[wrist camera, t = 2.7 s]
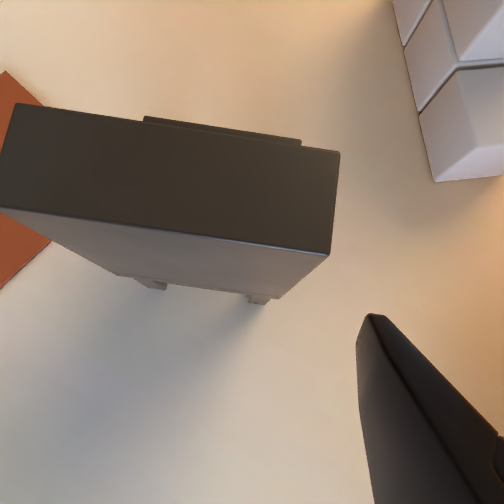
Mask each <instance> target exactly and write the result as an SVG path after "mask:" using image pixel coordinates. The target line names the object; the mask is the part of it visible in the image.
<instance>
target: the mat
mask: <svg viewBox="0 0 504 504" xmlns="http://www.w3.org/2000/svg"><path fill="white" fill-rule="evenodd" d="M17 102H19V103H26V104H32V105H39V106H43V105H42V104H41V103H40V102H39V101H38V100H37V99H35V98H34V97H33V96H32V95H31V94H30V93H29V92H28V91H27V90H26V89H25V88H24V87H23V86H21V85H20V84H19V83H18V82H17V81H16V80H15V79H14V78H13V77H12V76H11V75H10V74H8V73H7V72H6V71H4V72H3V73H2V74H1V75H0V152H1V149H2V145H3V142H4V139H5V135H6V132H7V129H8V125H9V122H10V119H11V115H12V112H13V109H14V105H15V103H17ZM51 241H52V240H51V239H49V238H47V237H45V236H43V235H41V234H39V233H38V232H36V231H34V230H32V229H30V228H28V227H26V226H25V225H23V224H21V223H19V222H17V221H15V220H13V219H12V218H10V217H8V216H6V215H4V214H2V213H0V288H1V287H2V286H3V285H4V284H5V283H7V282H8V281H9V280H10V279H11V278H12V277H13V276H14V275H15V274H16V273H17V272H18V271H20V270H21V269H22V268H23V267H24V266H25V265H26V264H27V263H28V262H29V261H30V260H31V259H32V258H34V257H35V256H36V255H37V254H38V253H39V252H40V251H41V250H42V249H43V248H44V247H45V246H47V245H48V244H49V243H50V242H51Z"/></svg>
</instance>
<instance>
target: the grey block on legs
mask: <svg viewBox="0 0 504 504" xmlns="http://www.w3.org/2000/svg"><path fill="white" fill-rule="evenodd" d="M301 143H302V141H301V140H300V139H293V138H287V137H280V136H274V135H267V134H261V133H254V132H248V131H241V130H235V129H228V128H222V127H215V126H209V125H202V124H196V123H189V122H183V121H176V120H170V119H163V118H157V117H150V116H144V118H143V121H137V120H130V119H124V118H117V117H111V116H104V115H98V114H91V113H85V112H78V111H72V110H65V109H58V108H52V107H45V106H39V105H32V104H26V103H19V102H17V103H15V105H14V109H13V112H12V115H11V119H10V122H9V125H8V129H7V132H6V135H5V139H4V142H3V145H2V149H1V152H0V213H2V214H4V215H6V216H8V217H10V218H12V219H13V220H15V221H17V222H19V223H21V224H23V225H25V226H26V227H28V228H30V229H32V230H34V231H36V232H38V233H39V234H41V235H43V236H45V237H47V238H49V239H51V240H52V241H54V242H56V243H58V244H60V245H62V246H63V247H65V248H67V249H69V250H71V251H73V252H75V253H76V254H78V255H80V256H82V257H84V258H86V259H88V260H89V261H91V262H93V263H95V264H97V265H99V266H101V267H102V268H104V269H106V270H108V271H110V272H112V273H114V274H115V275H117V276H123V277H130V278H133V279H135V280H137V281H138V282H140V283H142V284H143V285H145V286H147V287H148V288H154V289H161V290H166V287H167V283H171V284H177V285H184V286H191V287H198V288H204V289H211V290H218V291H225V292H231V293H238V294H245V295H248V302H249V303H256V304H263V305H265V304H266V303H267V302H268V301H269V300H270V299H271V298H272V299H279V298H281V297H282V296H283V295H284V294H285V293H287V292H288V291H289V290H290V289H291V288H292V287H294V286H295V285H296V284H297V283H298V282H299V281H301V280H302V279H303V278H304V277H305V276H306V275H308V274H309V273H310V272H311V271H312V270H313V269H314V268H316V267H317V266H318V265H319V264H320V263H321V262H323V261H324V260H325V259H326V258H327V257H328V256H329V255H330V252H331V242H332V232H333V223H334V213H335V203H336V194H337V184H338V174H339V165H340V152H338V151H332V150H326V149H319V148H313V147H306V146H301Z"/></svg>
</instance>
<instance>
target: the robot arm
mask: <svg viewBox="0 0 504 504" xmlns="http://www.w3.org/2000/svg"><path fill="white" fill-rule="evenodd" d="M356 364H357V384H358V403H359V412H360V419H361V425H362V431H363V437H364V443H365V449H366V455H367V461H368V467H369V473H370V479H371V485H372V491H373V497H374V503H375V504H504V438H503V437H502V436H498V432H497V431H496V430H495V429H494V428H493V427H492V426H491V425H490V424H489V423H488V422H487V421H486V420H485V418H484V417H483V416H482V415H481V414H480V413H479V412H478V411H477V410H476V409H475V408H474V407H473V406H472V405H471V404H470V403H469V402H468V401H467V400H466V399H465V398H464V397H463V396H462V395H461V394H460V392H459V391H458V390H457V389H456V388H455V387H454V386H453V385H452V384H451V383H450V382H449V381H448V380H447V379H446V378H445V377H444V376H443V375H442V374H441V373H440V372H439V371H438V370H437V369H436V368H435V366H434V365H433V364H432V363H431V362H430V361H429V360H428V359H427V358H426V357H425V356H424V355H423V354H422V353H421V352H420V351H419V350H418V349H417V348H416V347H415V346H414V345H413V344H412V343H411V342H410V341H409V339H408V338H407V337H406V336H405V335H404V334H403V333H402V332H401V331H400V330H399V329H398V328H397V327H396V326H395V325H394V324H393V323H392V322H391V321H390V320H389V319H388V318H387V317H386V316H384V315H379V314H372V313H369V314H367V315H366V317H365V319H364V321H363V324H362V326H361V329H360V332H359V334H358V337H357V341H356Z"/></svg>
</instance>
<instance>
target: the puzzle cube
mask: <svg viewBox="0 0 504 504" xmlns="http://www.w3.org/2000/svg"><path fill="white" fill-rule="evenodd" d="M392 3H393V7H394V12H395V16H396V20H397V25H398V29H399V33H400V38H401V42H402V45H403V46H406V47H405V49H404V55H405V60H406V64H407V68H408V73H409V77H410V81H411V86H412V90H413V94H414V99H415V103H416V107H417V110H418V111H420V112H422V111H423V112H422V113H421V114H420V115H419V120H420V125H421V129H422V134H423V138H424V142H425V147H426V151H427V155H428V160H429V164H430V168H431V173H432V177H433V180H434V181H435V182H443V181H453V180H462V179H472V178H481V177H491V176H500V175H504V0H392Z"/></svg>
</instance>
